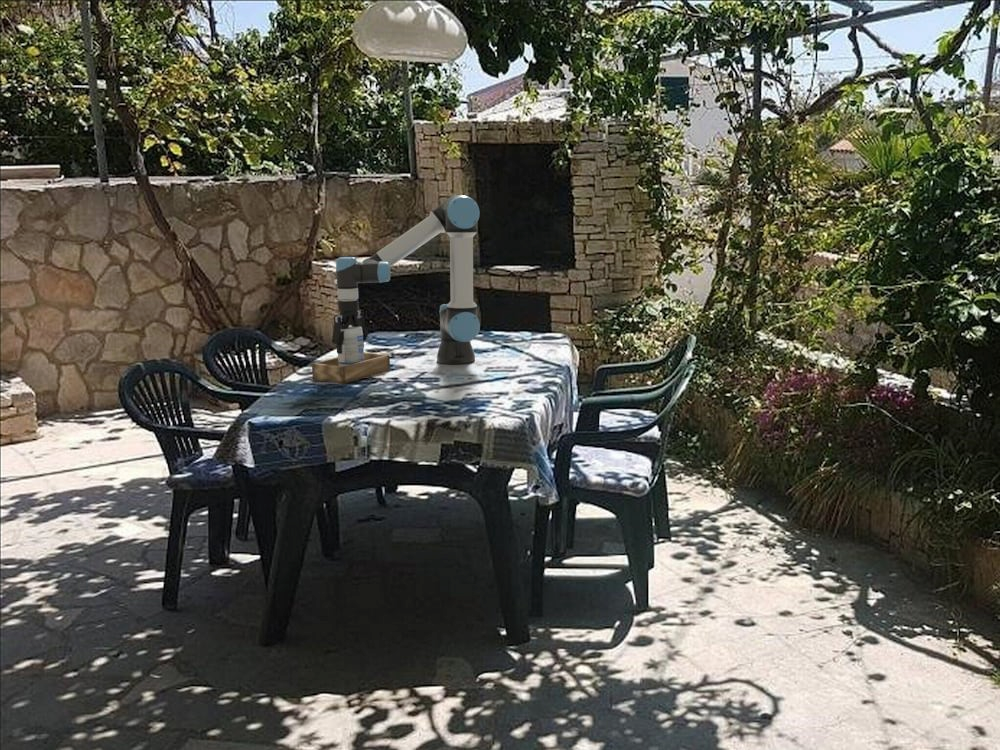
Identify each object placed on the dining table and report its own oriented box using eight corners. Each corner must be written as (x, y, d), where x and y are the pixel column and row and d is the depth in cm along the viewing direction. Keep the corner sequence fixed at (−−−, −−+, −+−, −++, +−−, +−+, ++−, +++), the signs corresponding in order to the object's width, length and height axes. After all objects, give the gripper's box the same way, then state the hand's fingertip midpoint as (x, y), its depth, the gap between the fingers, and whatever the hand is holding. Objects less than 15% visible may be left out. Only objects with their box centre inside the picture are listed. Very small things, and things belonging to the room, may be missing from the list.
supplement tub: (365, 368, 324) (363, 328, 321) (339, 369, 322) (337, 330, 319) (363, 363, 334) (361, 324, 331) (337, 364, 332) (335, 326, 329)
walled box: (390, 370, 335) (389, 355, 334) (343, 383, 314) (342, 367, 313) (360, 366, 343) (359, 351, 342) (312, 379, 322) (311, 363, 321)
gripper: (360, 295, 334) (363, 353, 339) (319, 302, 316) (322, 363, 320) (375, 296, 330) (378, 355, 335) (334, 303, 312) (338, 365, 316)
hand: (351, 359), depth 328 cm, fingers closed on supplement tub, 9 cm apart
